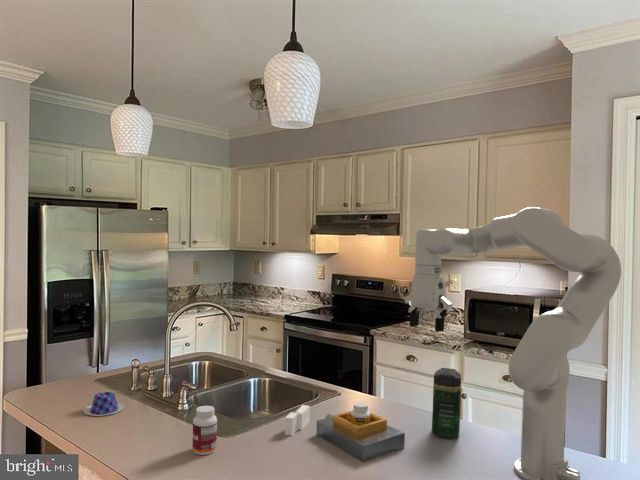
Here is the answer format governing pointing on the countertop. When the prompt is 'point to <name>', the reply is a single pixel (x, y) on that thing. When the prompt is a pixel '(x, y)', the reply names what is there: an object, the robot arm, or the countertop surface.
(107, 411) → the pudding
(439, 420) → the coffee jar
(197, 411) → the pill bottle
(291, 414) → the white angular block
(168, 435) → the countertop surface
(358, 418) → the supplement bottle
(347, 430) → the grey bottle holder
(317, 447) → the countertop surface
